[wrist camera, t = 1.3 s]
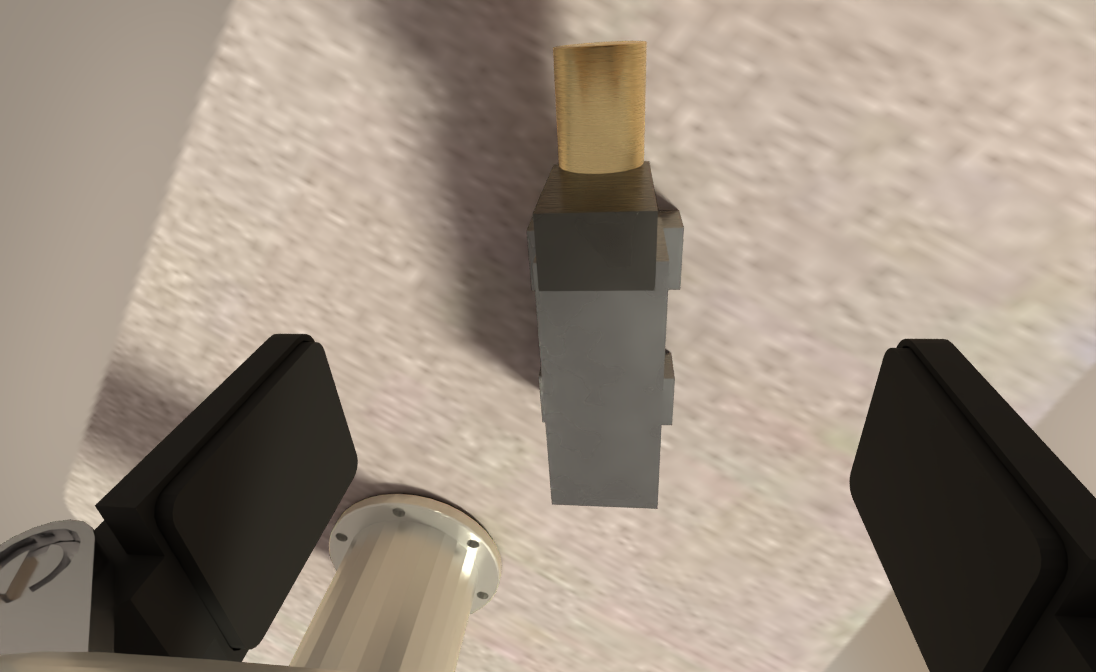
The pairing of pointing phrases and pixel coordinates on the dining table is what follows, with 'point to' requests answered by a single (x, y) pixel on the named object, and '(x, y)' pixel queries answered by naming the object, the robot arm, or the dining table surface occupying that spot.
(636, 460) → the metal sleeve
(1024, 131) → the dining table surface
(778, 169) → the dining table surface
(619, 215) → the brass rod
